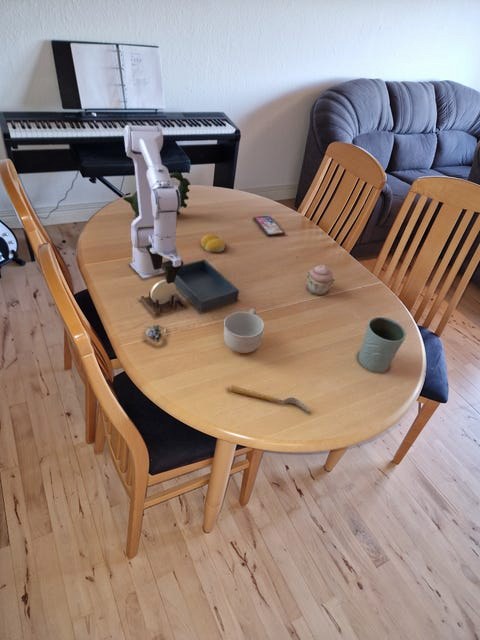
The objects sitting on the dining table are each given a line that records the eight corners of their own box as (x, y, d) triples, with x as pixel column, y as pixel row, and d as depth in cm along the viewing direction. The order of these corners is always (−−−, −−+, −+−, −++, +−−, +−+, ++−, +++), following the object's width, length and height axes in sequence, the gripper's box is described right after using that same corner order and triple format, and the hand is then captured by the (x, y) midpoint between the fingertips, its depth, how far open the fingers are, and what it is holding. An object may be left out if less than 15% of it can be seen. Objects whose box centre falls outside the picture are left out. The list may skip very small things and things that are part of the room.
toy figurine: (179, 213, 181) (118, 213, 169) (186, 168, 170) (121, 164, 158) (187, 224, 174) (124, 224, 163) (194, 178, 163) (127, 175, 152)
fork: (228, 389, 106) (310, 408, 104) (230, 382, 107) (311, 401, 105) (228, 394, 108) (308, 413, 106) (230, 387, 109) (309, 406, 107)
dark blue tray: (168, 279, 141) (168, 268, 138) (203, 269, 148) (204, 259, 145) (200, 313, 129) (201, 302, 127) (237, 300, 137) (239, 290, 134)
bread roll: (212, 255, 155) (213, 245, 153) (197, 244, 160) (197, 234, 158) (230, 249, 160) (231, 240, 158) (214, 239, 165) (215, 229, 162)
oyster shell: (165, 326, 123) (165, 320, 122) (172, 345, 117) (172, 339, 116) (141, 329, 121) (141, 324, 119) (147, 348, 115) (147, 343, 114)
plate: (150, 305, 128) (150, 283, 123) (174, 298, 132) (175, 276, 127) (151, 307, 128) (151, 285, 123) (175, 300, 132) (176, 278, 127)
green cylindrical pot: (369, 377, 118) (384, 344, 110) (348, 352, 124) (360, 319, 117) (398, 369, 122) (414, 337, 114) (376, 345, 128) (390, 313, 121)
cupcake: (311, 278, 152) (318, 253, 146) (335, 289, 149) (343, 264, 142) (298, 289, 146) (305, 264, 140) (323, 301, 142) (331, 276, 136)
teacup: (247, 364, 115) (251, 342, 110) (213, 346, 119) (216, 324, 114) (271, 337, 125) (277, 315, 120) (240, 321, 129) (243, 300, 124)
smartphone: (268, 234, 171) (253, 216, 181) (267, 236, 172) (252, 218, 182) (285, 232, 174) (269, 215, 184) (284, 235, 174) (269, 217, 185)
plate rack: (140, 300, 130) (140, 292, 128) (170, 291, 136) (170, 283, 134) (155, 317, 125) (155, 309, 123) (185, 307, 130) (185, 299, 128)
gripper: (138, 223, 117) (139, 265, 126) (164, 248, 109) (163, 292, 118) (161, 218, 121) (161, 260, 130) (189, 242, 113) (186, 285, 121)
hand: (163, 275), depth 124 cm, fingers open, 7 cm apart
